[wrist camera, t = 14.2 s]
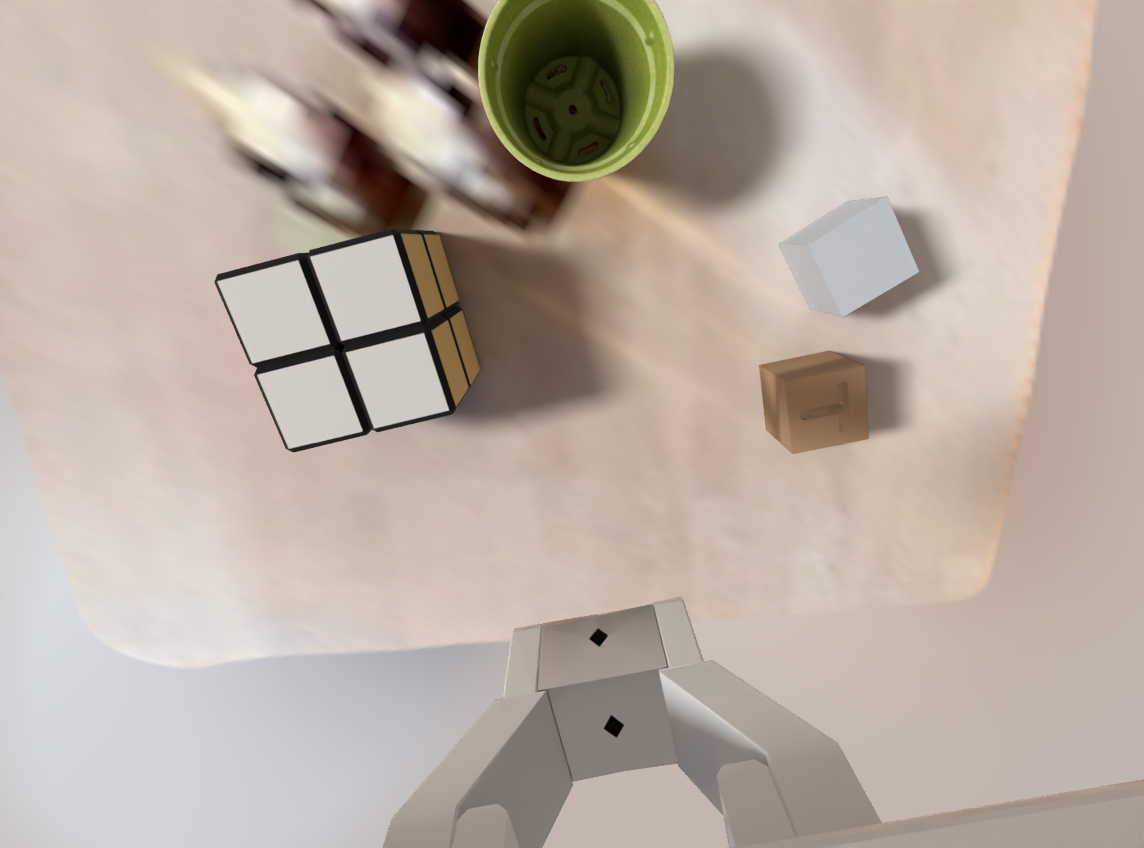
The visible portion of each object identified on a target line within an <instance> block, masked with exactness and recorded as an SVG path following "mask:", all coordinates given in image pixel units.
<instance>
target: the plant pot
mask: <svg viewBox="0 0 1144 848" xmlns="http://www.w3.org/2000/svg"><path fill="white" fill-rule="evenodd" d="M560 66H566V67H567V71H566V72H562V73H560V74H558V75H556V76H554V77H552V78H550V79H549V80H547V76H548V74H549V73H550V72H551V71H552V70H554V69H555V68H557V67H560ZM674 72H675V63H674V50H673V45H672V40H671V36H670V33H669V30H668V27H667V24H666V22H665V19H664V17H663V14H662V12H661V10H660V8H659V7H658V5H657V3H656V2H655V0H499V1H498V3H497V4H496V6H495V7H494V9H493V11H492V13H491V15H490V17H489V19H488V21H487V24H486V27H485V30H484V33H483V37H482V41H481V46H480V52H479V65H478V75H479V87H480V93H481V97H482V102H483V105H484V108H485V111H486V114H487V116H488V119H489V121H490V123H491V125H492V127H493V129H494V131H495V133H496V134H497V136H498V137H499V139H500V140H501V142H502V143H503V144H504V146H505V147H506V148H507V149H508V150H509V151H510V152H511V153H512V155H513V156H514V157H516V158H517V159H518V160H519V161H520V162H522V163H523V164H524V165H526V166H527V167H529V168H530V169H532V170H534V171H535V172H537V173H540V174H542V175H544V176H547V177H550V178H553V179H556V180H562V181H570V182H580V181H589V180H594V179H598V178H601V177H604V176H607V175H609V174H611V173H613V172H615V171H617V170H619V169H621V168H622V167H624V166H625V165H627V164H628V163H629V162H631V161H632V160H633V159H634V158H635V157H636V156H638V155H639V154H640V153H641V152H642V151H643V150H644V148H645V147H646V146H647V145H648V144H649V142H650V141H651V140H652V138H653V137H654V136H655V134H656V132H657V131H658V129H659V127H660V125H661V123H662V121H663V119H664V117H665V114H666V112H667V109H668V107H669V103H670V100H671V96H672V91H673V85H674ZM601 82H605V83H606V84H607V86H608V88H609V90H610V92H611V94H612V103H611V104H608V101H607V98H606V94H605V92H604V90H603V88H602V86H601V84H600V83H601ZM572 105H574V106H575V107H576V109H577V113H576V114H574V115H572V114H570V111H569V107H570V106H572ZM535 117H536V118H538V120H539V124H540V127H541V129H542V131H543V133H544V135H545V136H546V138H545V140H544V139H541V138H540V135H539V133H538V131H537V130H536V129H535V127H534V122H533V120H534V118H535ZM594 142H598V146H597V147H596V149H595V150H593V151H590V152H588V153H587V154H583V155H580V154H578V150H580V149H583V148H586V147H588V146H590V145H591V144H592V143H594Z"/></svg>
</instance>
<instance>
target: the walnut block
mask: <svg viewBox="0 0 1144 848" xmlns="http://www.w3.org/2000/svg"><path fill="white" fill-rule="evenodd" d="M759 368H760V377H761V387H762V396H763V405H764V414H765V423H766V430H767V431H768V432H769V433H770V434H771V435H772V436H773V437H774V438H776V439H777V440H778V441H779V442H780V443H781V444H782V445H783V446H784V447H785V448H787V449H788V450H789V451H790V452H791V453H792V454H795V453H800V452H805V451H810V450H815V449H820V448H825V447H830V446H835V445H840V444H845V443H850V442H855V441H860V440H865V439H869V436H868V415H867V395H866V374H865V365H863V364H860V363H858V362H855V361H853V360H850V359H848V358H845V357H843V356H840V355H838V354H836V353H833V352H831V351H826V352H821V353H816V354H811V355H806V356H802V357H797V358H792V359H787V360H782V361H778V362H773V363H768V364H763V365H759Z"/></svg>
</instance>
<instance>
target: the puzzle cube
mask: <svg viewBox="0 0 1144 848" xmlns="http://www.w3.org/2000/svg"><path fill="white" fill-rule="evenodd" d="M215 285H216V287H217V289H218V292H219V294H220V296H221V299H222V301H223V303H224V306H225V308H226V310H227V312H228V315H229V317H230V319H231V322H232V324H233V326H234V329H235V331H236V333H237V336H238V338H239V340H240V343H241V345H242V347H243V350H244V352H245V354H246V357H247V359H248V361H249V363H250V364H251V365H253V366H255V367H257V370H256V372H255V374H254V376H255V378H256V381H257V383H258V385H259V388H260V390H261V392H262V395H263V397H264V399H265V401H266V404H267V406H268V408H269V411H270V413H271V415H272V418H273V420H274V422H275V425H276V427H277V429H278V432H279V434H280V436H281V439H282V441H283V443H284V446H285V448H286V449H288V450H290V451H292V452H297V451H301V450H306V449H310V448H314V447H318V446H322V445H326V444H331V443H335V442H339V441H343V440H347V439H351V438H355V437H360V436H364V435H367V434H368V433H369V432H370V431H371V430H372V429H373V430H374V431H376V432H380V431H385V430H389V429H393V428H397V427H401V426H405V425H410V424H414V423H418V422H422V421H426V420H430V419H435V418H439V417H443V416H447V415H451V414H453V413H454V411H455V409H456V408H457V406H458V405H459V403H460V402H461V400H462V398H463V397H464V395H465V394H466V392H467V391H468V390H469V388H470V386H471V385H472V383H473V382H474V380H475V378H476V377H477V375H478V373H479V372H480V367H479V364H478V361H477V357H476V354H475V351H474V348H473V344H472V341H471V338H470V334H469V331H468V328H467V325H466V321H465V318H464V315H463V311H462V309H460V308H458V307H455V306H456V305H457V303H458V301H459V298H458V295H457V291H456V288H455V285H454V282H453V278H452V275H451V272H450V268H449V265H448V262H447V259H446V255H445V252H444V249H443V245H442V242H441V239H440V236H439V234H437V233H435V232H434V231H422V230H416V231H415V230H405V229H389V230H385V231H381V232H377V233H374V234H370V235H366V236H362V237H358V238H354V239H351V240H347V241H343V242H339V243H335V244H332V245H328V246H324V247H320V248H316V249H313V250H310V251H309V253H297V254H294V255H290V256H286V257H282V258H278V259H275V260H271V261H267V262H263V263H259V264H255V265H252V266H248V267H244V268H240V269H236V270H233V271H229V272H225V273H221V274H218V275H217V277H216V280H215Z"/></svg>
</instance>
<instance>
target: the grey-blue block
mask: <svg viewBox="0 0 1144 848" xmlns="http://www.w3.org/2000/svg"><path fill="white" fill-rule="evenodd" d="M778 246H779V248H780V250H781V252H782V254H783V256H784V258H785V260H786V262H787V264H788V266H789V268H790V270H791V272H792V275H793V277H794V279H795V281H796V283H797V285H798V287H799V289H800V291H801V293H802V295H803V297H804V299H805V301H806V303H807V305H808V307H809V308H810V309H814V310H818V311H821V312H825V313H829V314H832V315H836V316H840V317H844V316H846V315H847V314H849V313H851V312H852V311H854V310H856V309H857V308H859V307H861V306H862V305H864V304H866V303H868V302H869V301H871V300H873V299H874V298H876V297H878V296H879V295H881V294H883V293H884V292H886V291H888V290H890V289H891V288H893V287H895V286H896V285H898V284H900V283H901V282H903V281H905V280H906V279H908V278H910V277H912V276H913V275H915V274H917V273H918V272H919V270H918V268H917V265H916V263H915V261H914V258H913V256H912V254H911V251H910V249H909V246H908V244H907V242H906V239H905V237H904V235H903V232H902V230H901V228H900V225H899V223H898V220H897V218H896V216H895V213H894V211H893V209H892V206H891V204H890V202H889V199H888V197H887V196H883V197H876V198H869V199H862V200H855V201H848V202H845V203H843V204H842V205H840V206H839V207H837V208H835V209H834V210H832V211H831V212H829V213H827V214H826V215H824V216H823V217H821V218H819V219H818V220H816V221H815V222H813V223H811V224H810V225H808V226H807V227H805V228H803V229H802V230H800V231H799V232H797V233H795V234H794V235H792V236H791V237H789V238H787V239H786V240H784V241H783V242H781V243H779V244H778Z"/></svg>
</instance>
